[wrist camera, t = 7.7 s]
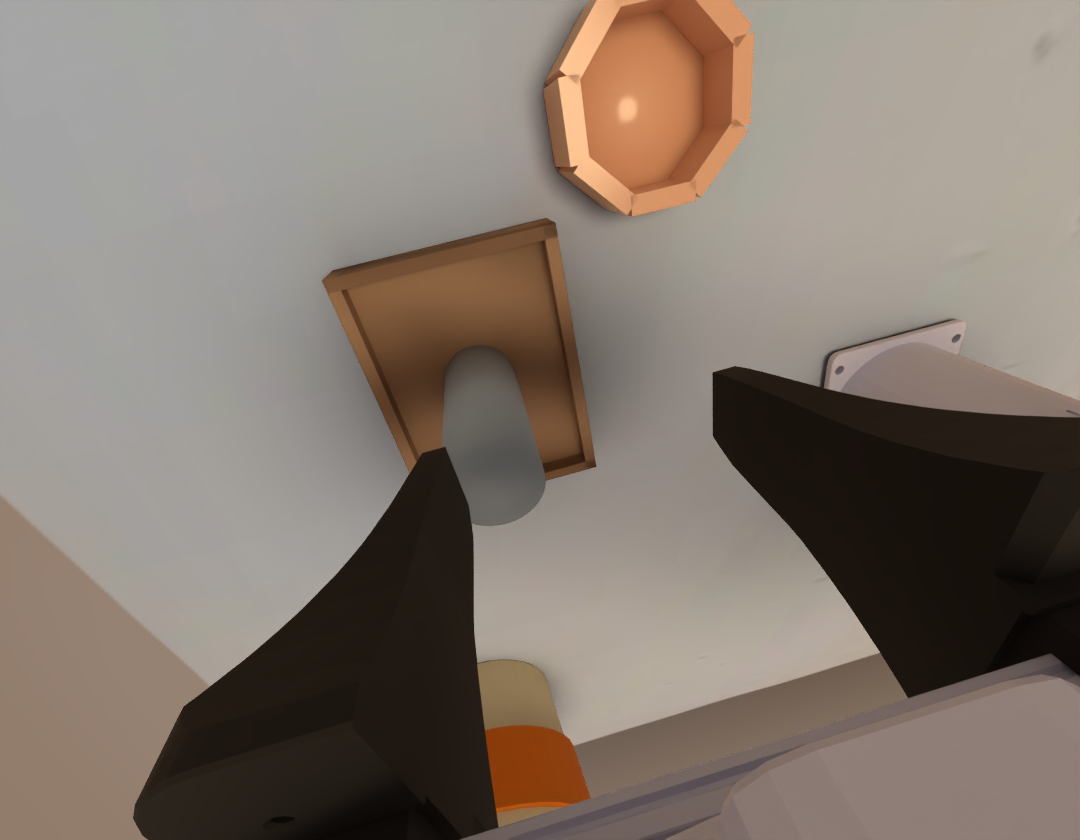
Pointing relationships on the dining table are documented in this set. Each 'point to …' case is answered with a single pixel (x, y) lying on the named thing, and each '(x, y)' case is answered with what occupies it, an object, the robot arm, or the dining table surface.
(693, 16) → the orange octagonal bowl
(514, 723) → the reusable coffee cup
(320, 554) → the dining table surface
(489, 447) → the dowel
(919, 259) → the dining table surface
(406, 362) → the tray
